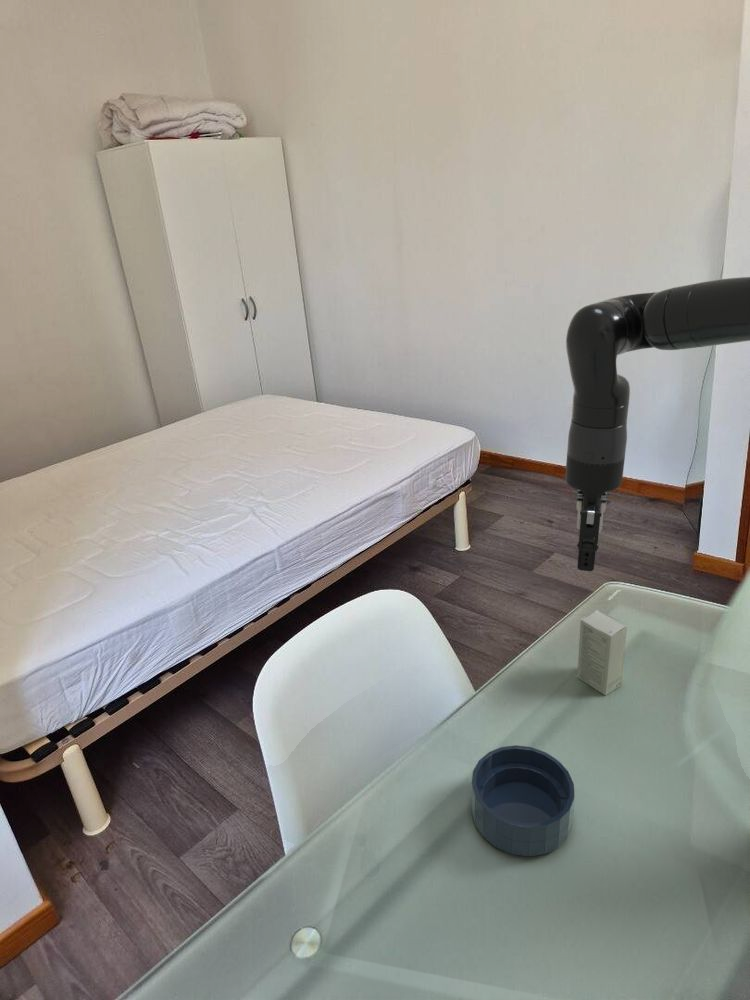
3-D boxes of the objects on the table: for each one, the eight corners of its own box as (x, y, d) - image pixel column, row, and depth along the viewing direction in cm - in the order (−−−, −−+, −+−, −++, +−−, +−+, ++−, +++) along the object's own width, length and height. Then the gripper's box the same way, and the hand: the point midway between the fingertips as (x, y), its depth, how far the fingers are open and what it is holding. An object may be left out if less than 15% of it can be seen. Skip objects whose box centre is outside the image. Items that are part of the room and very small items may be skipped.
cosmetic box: (622, 685, 115) (629, 626, 109) (604, 697, 113) (611, 637, 107) (591, 666, 119) (597, 608, 114) (574, 676, 117) (579, 618, 112)
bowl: (569, 782, 98) (572, 751, 95) (572, 866, 86) (576, 834, 84) (476, 770, 100) (476, 740, 98) (467, 850, 89) (467, 818, 86)
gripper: (626, 474, 86) (613, 583, 93) (624, 434, 98) (613, 533, 105) (564, 470, 88) (556, 577, 95) (570, 431, 100) (562, 528, 107)
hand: (586, 554), depth 100 cm, fingers open, 8 cm apart
